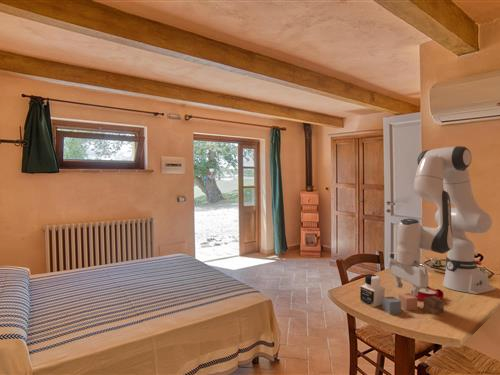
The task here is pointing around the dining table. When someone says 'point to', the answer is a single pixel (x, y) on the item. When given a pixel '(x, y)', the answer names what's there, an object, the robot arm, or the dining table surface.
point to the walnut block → (433, 305)
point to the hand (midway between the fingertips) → (406, 291)
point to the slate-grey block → (391, 305)
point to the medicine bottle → (372, 291)
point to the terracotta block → (408, 301)
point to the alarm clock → (429, 293)
